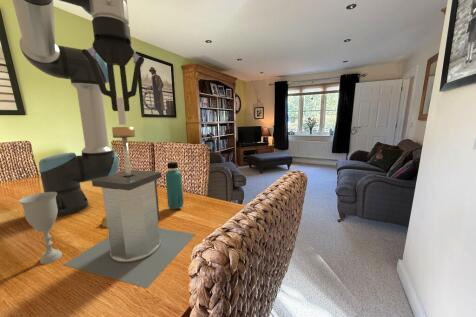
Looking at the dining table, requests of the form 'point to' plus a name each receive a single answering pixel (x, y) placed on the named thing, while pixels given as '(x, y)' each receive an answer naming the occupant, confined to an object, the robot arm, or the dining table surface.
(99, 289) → the dining table surface
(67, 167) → the robot arm
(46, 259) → the chalice
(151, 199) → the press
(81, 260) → the slate mat
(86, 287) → the dining table surface
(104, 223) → the bread roll
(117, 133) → the plunger
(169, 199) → the beverage bottle
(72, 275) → the dining table surface
